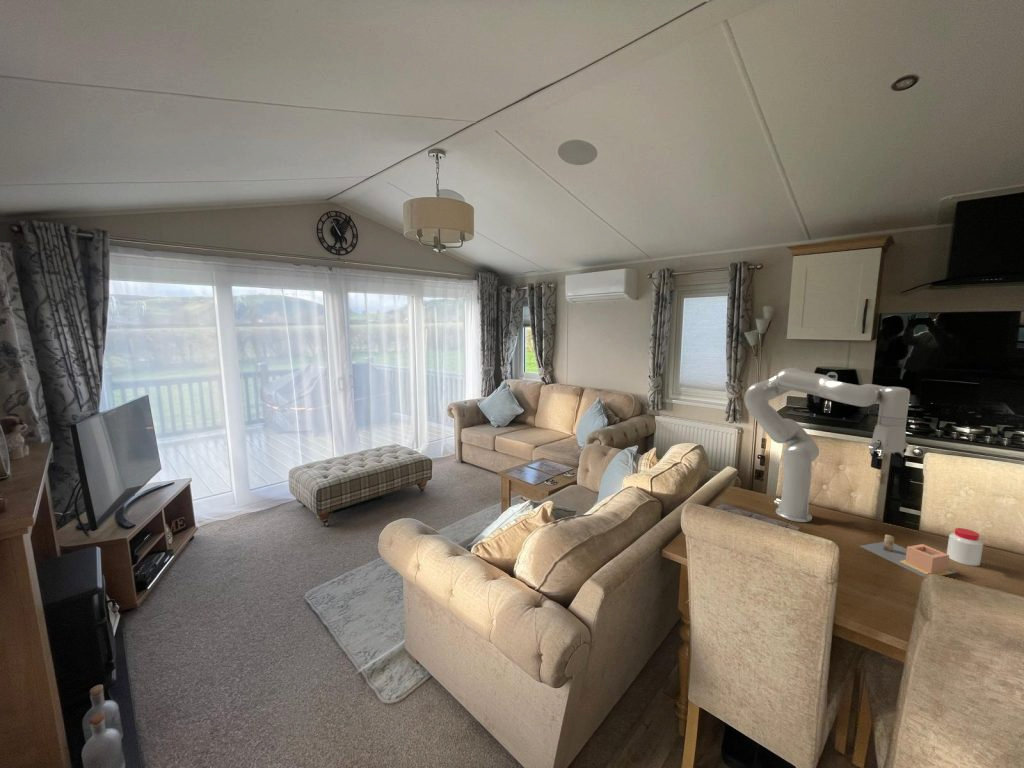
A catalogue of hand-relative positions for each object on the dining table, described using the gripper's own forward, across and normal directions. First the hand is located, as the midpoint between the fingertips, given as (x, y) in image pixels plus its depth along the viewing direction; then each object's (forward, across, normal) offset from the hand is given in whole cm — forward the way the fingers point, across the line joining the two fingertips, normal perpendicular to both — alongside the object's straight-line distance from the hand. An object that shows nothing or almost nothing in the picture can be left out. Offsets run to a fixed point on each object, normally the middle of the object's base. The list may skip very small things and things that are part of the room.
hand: (886, 467), depth 150 cm
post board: (+28, +6, +13) cm, 32 cm away
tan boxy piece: (+27, +6, +18) cm, 33 cm away
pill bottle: (+28, -12, +18) cm, 36 cm away
